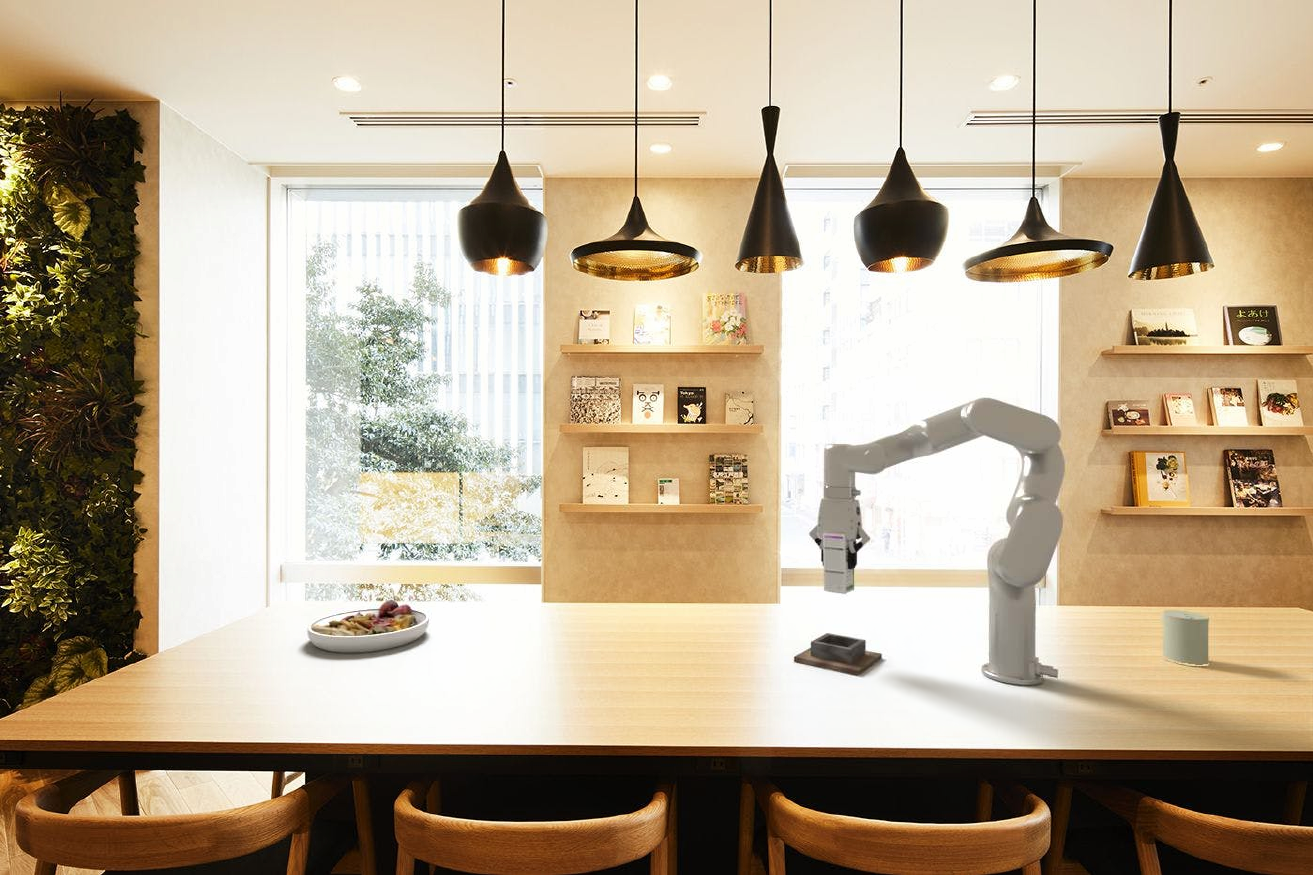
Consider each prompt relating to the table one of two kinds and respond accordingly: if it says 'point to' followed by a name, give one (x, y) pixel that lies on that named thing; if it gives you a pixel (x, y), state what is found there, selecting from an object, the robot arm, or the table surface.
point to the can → (1185, 637)
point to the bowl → (368, 628)
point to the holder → (839, 654)
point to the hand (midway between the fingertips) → (838, 566)
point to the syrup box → (837, 564)
